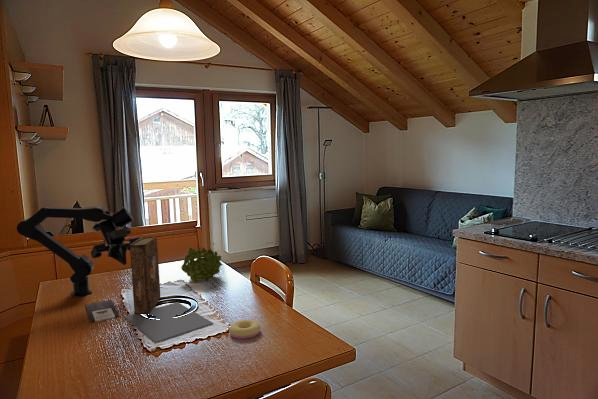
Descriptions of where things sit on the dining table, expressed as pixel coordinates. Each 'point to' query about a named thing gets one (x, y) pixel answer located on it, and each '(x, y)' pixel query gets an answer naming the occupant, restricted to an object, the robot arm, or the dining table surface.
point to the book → (145, 274)
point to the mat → (168, 322)
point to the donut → (244, 329)
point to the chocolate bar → (101, 311)
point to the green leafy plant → (201, 264)
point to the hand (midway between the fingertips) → (125, 264)
